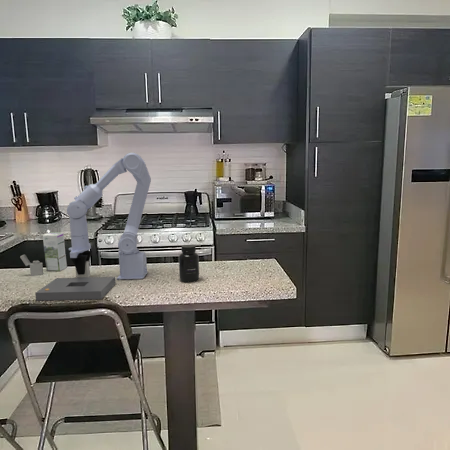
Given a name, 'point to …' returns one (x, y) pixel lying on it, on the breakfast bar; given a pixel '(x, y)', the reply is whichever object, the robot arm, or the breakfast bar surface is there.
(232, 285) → the breakfast bar surface
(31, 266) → the lighter
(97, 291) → the socket block
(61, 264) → the syrup box
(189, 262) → the supplement bottle
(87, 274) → the plug
